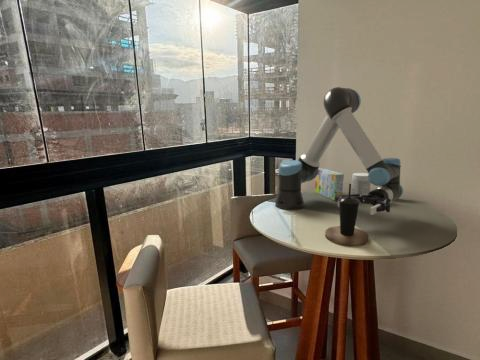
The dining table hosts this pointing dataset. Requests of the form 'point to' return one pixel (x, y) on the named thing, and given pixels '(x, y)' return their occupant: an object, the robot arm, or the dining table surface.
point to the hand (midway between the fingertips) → (354, 207)
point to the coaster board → (346, 237)
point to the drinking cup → (348, 214)
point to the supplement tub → (360, 184)
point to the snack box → (329, 184)
